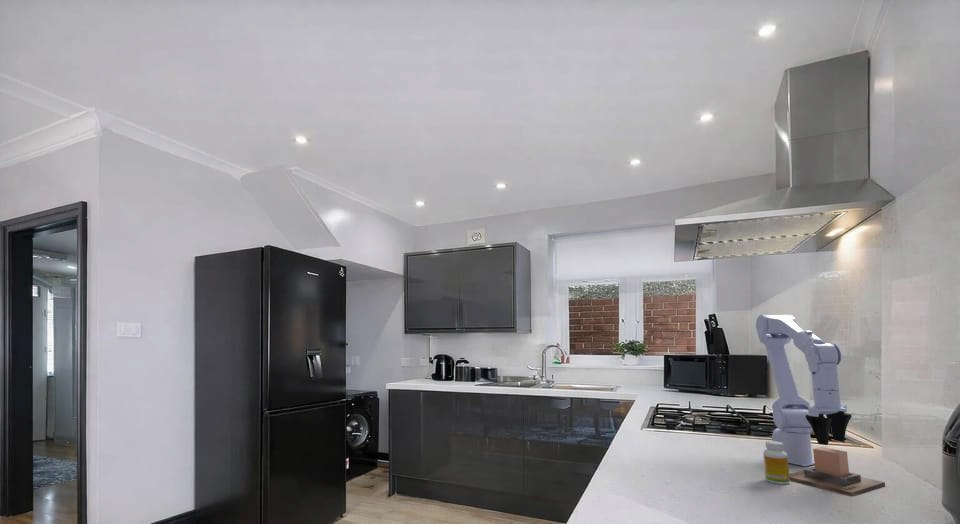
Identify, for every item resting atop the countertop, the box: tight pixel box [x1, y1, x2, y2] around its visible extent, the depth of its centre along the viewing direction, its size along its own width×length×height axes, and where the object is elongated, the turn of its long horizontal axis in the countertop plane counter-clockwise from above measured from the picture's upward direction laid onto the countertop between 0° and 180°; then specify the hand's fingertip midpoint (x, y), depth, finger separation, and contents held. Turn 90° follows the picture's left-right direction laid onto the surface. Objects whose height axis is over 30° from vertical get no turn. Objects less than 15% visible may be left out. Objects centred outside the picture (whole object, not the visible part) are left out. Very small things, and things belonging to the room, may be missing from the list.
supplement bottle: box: [762, 440, 791, 485], centre depth 127 cm, size 5×5×10 cm
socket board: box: [789, 466, 886, 497], centre depth 126 cm, size 16×16×2 cm
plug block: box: [812, 446, 850, 477], centre depth 126 cm, size 6×4×7 cm, turn 29°
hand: (831, 442), depth 128 cm, fingers open, 7 cm apart
